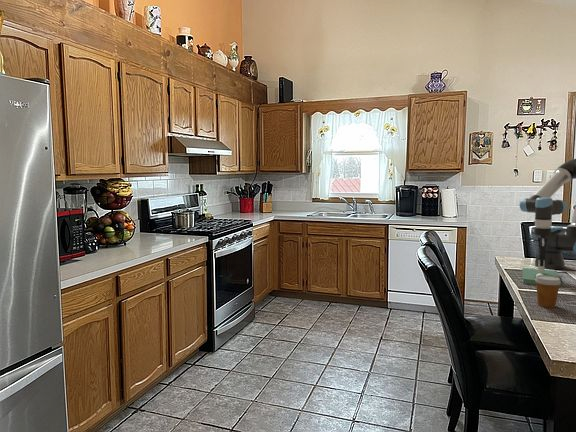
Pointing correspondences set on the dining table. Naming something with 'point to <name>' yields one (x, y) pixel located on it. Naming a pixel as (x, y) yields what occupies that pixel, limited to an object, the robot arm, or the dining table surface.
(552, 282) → the disposable coffee cup
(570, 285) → the dining table surface
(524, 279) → the putting mat
